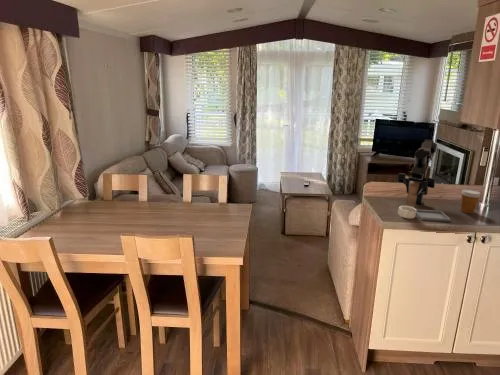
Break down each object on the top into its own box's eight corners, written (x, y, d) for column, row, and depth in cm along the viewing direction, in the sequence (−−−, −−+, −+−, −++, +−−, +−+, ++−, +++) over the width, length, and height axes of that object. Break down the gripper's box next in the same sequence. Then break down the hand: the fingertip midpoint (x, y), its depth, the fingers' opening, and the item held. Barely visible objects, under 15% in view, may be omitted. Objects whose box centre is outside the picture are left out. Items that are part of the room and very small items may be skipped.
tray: (413, 211, 209) (413, 209, 209) (440, 213, 208) (441, 210, 208) (420, 220, 198) (421, 217, 197) (450, 221, 197) (450, 219, 196)
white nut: (401, 211, 209) (402, 204, 208) (416, 215, 204) (418, 208, 203) (395, 215, 203) (397, 208, 202) (411, 219, 198) (413, 212, 197)
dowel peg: (407, 202, 205) (411, 180, 201) (416, 204, 202) (420, 182, 198) (404, 204, 201) (408, 182, 197) (413, 206, 198) (417, 184, 194)
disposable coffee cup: (471, 209, 217) (476, 189, 214) (479, 215, 208) (484, 194, 205) (454, 208, 218) (458, 188, 215) (461, 213, 209) (466, 193, 206)
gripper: (400, 158, 202) (393, 182, 197) (438, 163, 193) (431, 189, 187) (401, 169, 211) (394, 193, 205) (437, 175, 202) (431, 200, 196)
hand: (412, 193), depth 198 cm, fingers closed on dowel peg, 5 cm apart
